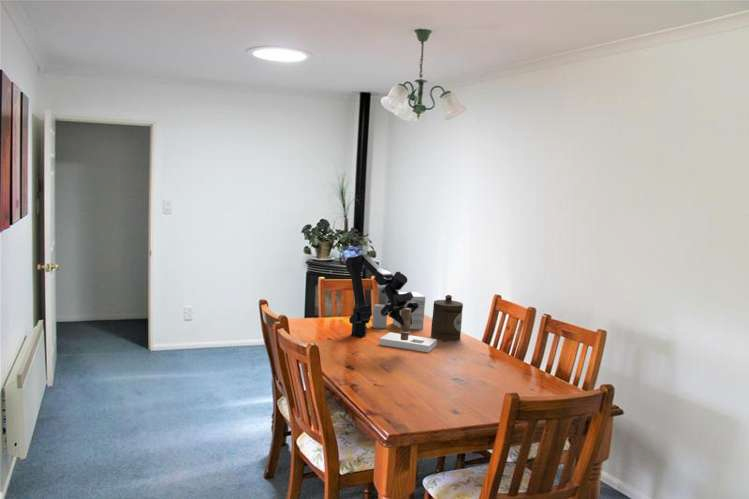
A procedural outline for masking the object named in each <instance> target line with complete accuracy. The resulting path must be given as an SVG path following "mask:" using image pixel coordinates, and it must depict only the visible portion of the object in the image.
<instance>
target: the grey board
mask: <svg viewBox="0 0 749 499" xmlns="http://www.w3.org/2000/svg"><path fill="white" fill-rule="evenodd" d="M437 341H438V340H437V339H433V338H432V337H431V338H430V337H423V336H417V335H416V336H415V335H411V334H410V335H409V334H408V340H401V333H396V332H388V333H386V334H384V335H383V336H382V337H379V345H380V346H385V347H392V348H399V349H405V350H406V349H407V350H411V351H419V352H424V353H429V352H431V351H432V350H433V349H435V348H436V347H437V343H438V342H437Z"/></svg>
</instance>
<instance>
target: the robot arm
mask: <svg viewBox="0 0 749 499" xmlns="http://www.w3.org/2000/svg"><path fill="white" fill-rule="evenodd" d="M344 265H345V268H346V271H347V272H348V274H350V279H351V284H352V291H353V298H354V302H355V303H354V306H353V309H352V315H351V316H350V317H349V318H348V319H349V323H350V324H351V333H350V336H352V337H359V338H363V337H365V336H367V331H368V326H367V324H369V323H370V320H371V317H372V310H371V309H372V308H371V305H369V304H367V303H366V299H365V293H364V292H365V291H364V287H363V286H364V284H363V279H362V278H363V277H362V272H363V271H364V270H363V269H364V267H365V268H366V269H367V270H368V271H369V272H370V273H371V274H372V275H373V276H374V280H375V282H376V284H378V285H379V286H385V287H382V289H381V292H380V293H381V294H385V295H386V298H387V303H388V304H384V305H385V306H384V307H383V308H382V310H381V315H382V316H387V317H388V318H391V319H392V320H393V319H394V320H396V321H397V322H398V323H400V324H401V325H402V326H403V325H404V322H403V320H402V318H401V315H400V311H401V310H402V308H410V309H411V313H413V312H414V311H415V310H416V309H417V308H418V307H419V306H418V304H417V302H410V303H409V304H408V305H407V306H405V304H406V303H407V301H409V300H411V299H412V298H413V294H412V293H411V292H412V291H407V292H408V293H406V294H399V292H400V291H401V290H402V288H403V287H405V285H406V284H407V283H408V278H407V276H406V275H405V274H403V273H401V271H396V272H395V273H394V275H393V273H392V272H390V271H389V270H386V269H383V268H382V267H381V266H379V264H377V262H376V261H374V260H373V259H372V258H371V255H369V254H367V253H365V254H359V255H356V256H347V258H346V260H345V264H344ZM411 324H412V316H411V321H410V325H411Z"/></svg>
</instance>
